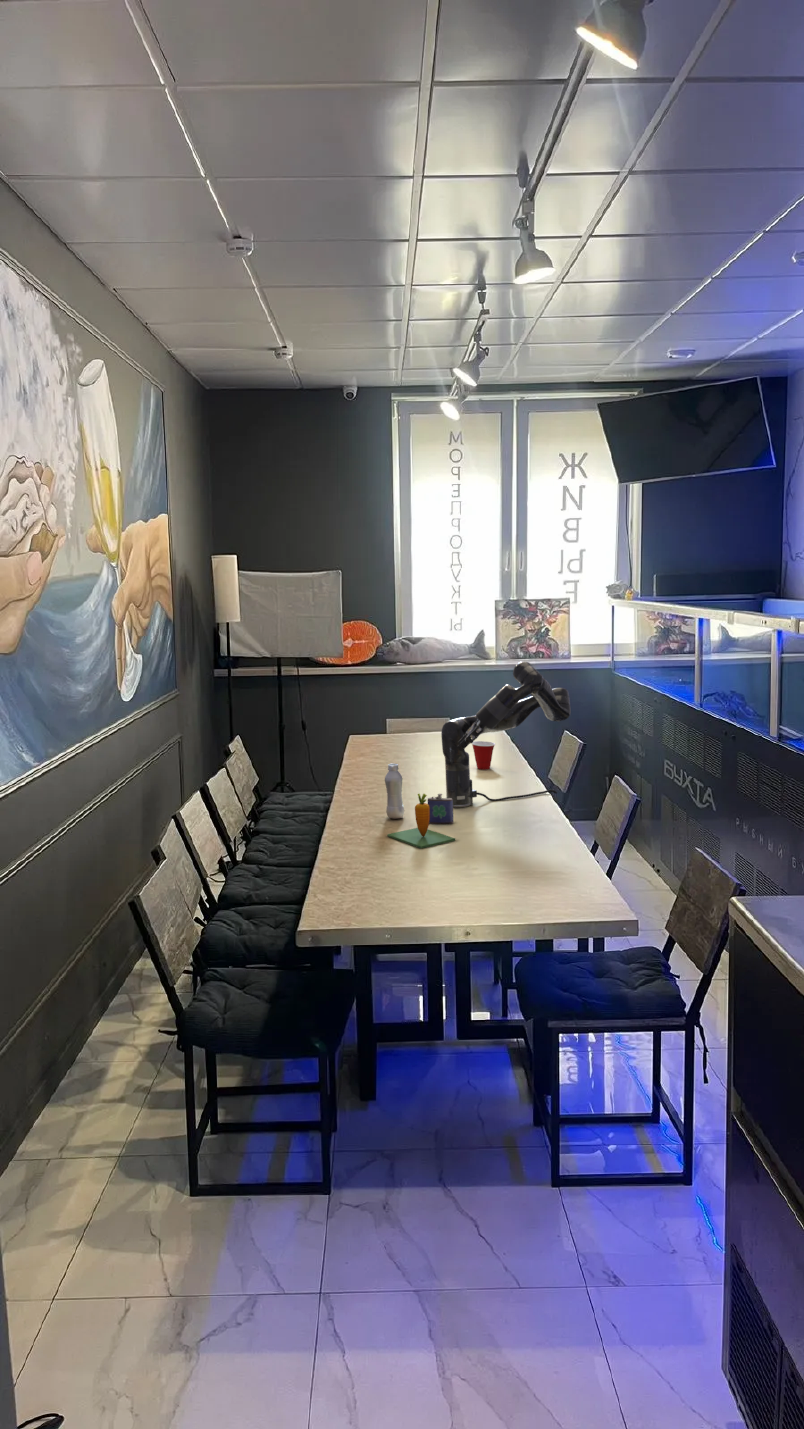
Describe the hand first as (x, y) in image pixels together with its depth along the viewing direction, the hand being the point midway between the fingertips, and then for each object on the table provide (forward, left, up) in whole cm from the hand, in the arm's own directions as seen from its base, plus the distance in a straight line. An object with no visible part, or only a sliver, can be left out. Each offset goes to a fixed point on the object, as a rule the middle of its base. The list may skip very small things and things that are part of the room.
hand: (459, 747), depth 321 cm
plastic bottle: (+4, -35, -30) cm, 47 cm away
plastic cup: (-76, -83, -31) cm, 117 cm away
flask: (-4, -18, -31) cm, 36 cm away
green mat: (+13, -6, -30) cm, 34 cm away
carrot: (+13, -5, -30) cm, 33 cm away
